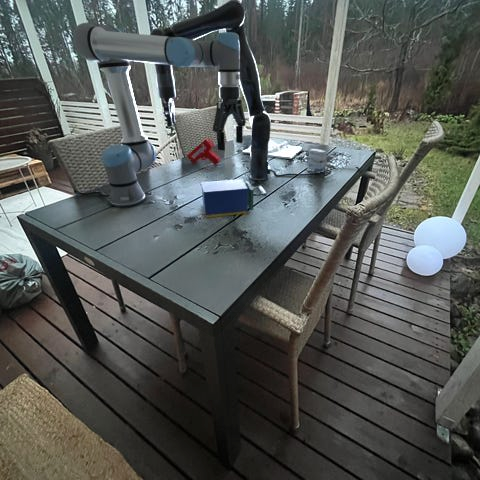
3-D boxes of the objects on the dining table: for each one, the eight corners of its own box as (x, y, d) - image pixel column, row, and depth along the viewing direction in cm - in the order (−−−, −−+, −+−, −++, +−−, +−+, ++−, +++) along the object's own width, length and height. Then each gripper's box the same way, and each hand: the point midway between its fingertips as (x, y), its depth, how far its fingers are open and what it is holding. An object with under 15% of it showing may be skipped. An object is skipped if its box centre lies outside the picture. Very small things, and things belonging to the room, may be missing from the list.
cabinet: (241, 202, 122) (241, 178, 116) (247, 213, 113) (247, 188, 107) (203, 206, 119) (201, 182, 113) (205, 217, 110) (203, 192, 104)
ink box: (324, 171, 156) (327, 150, 149) (319, 173, 153) (323, 152, 146) (310, 168, 160) (313, 148, 154) (306, 170, 157) (309, 149, 151)
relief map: (291, 159, 177) (291, 151, 174) (243, 153, 190) (243, 145, 187) (302, 149, 197) (303, 142, 194) (258, 144, 211) (258, 137, 208)
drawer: (260, 199, 122) (261, 180, 117) (266, 208, 114) (267, 188, 109) (212, 203, 118) (210, 184, 113) (214, 213, 110) (213, 193, 105)
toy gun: (223, 158, 167) (209, 137, 163) (221, 160, 164) (206, 138, 160) (204, 173, 177) (189, 154, 173) (201, 175, 174) (186, 155, 170)
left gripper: (218, 88, 88) (221, 154, 99) (254, 84, 106) (253, 140, 117) (199, 87, 91) (204, 152, 102) (238, 84, 109) (238, 139, 120)
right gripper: (172, 86, 115) (177, 127, 123) (176, 84, 127) (181, 122, 135) (154, 87, 114) (160, 127, 123) (160, 85, 126) (166, 122, 135)
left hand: (230, 146), depth 110 cm, fingers open, 13 cm apart
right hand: (171, 124), depth 129 cm, fingers open, 8 cm apart
